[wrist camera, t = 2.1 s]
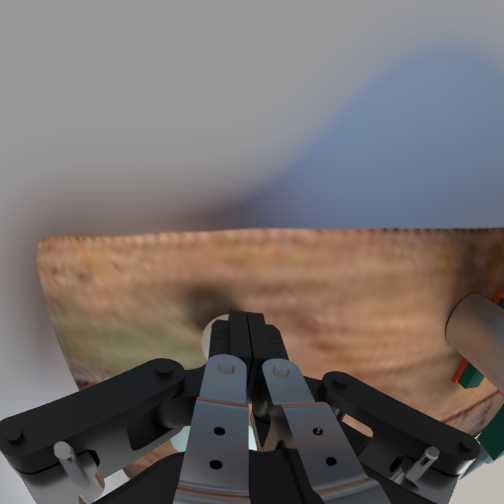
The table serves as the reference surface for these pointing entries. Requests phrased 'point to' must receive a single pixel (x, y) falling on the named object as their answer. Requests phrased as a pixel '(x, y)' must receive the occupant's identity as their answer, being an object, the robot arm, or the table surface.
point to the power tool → (500, 428)
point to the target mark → (182, 437)
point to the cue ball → (207, 333)
